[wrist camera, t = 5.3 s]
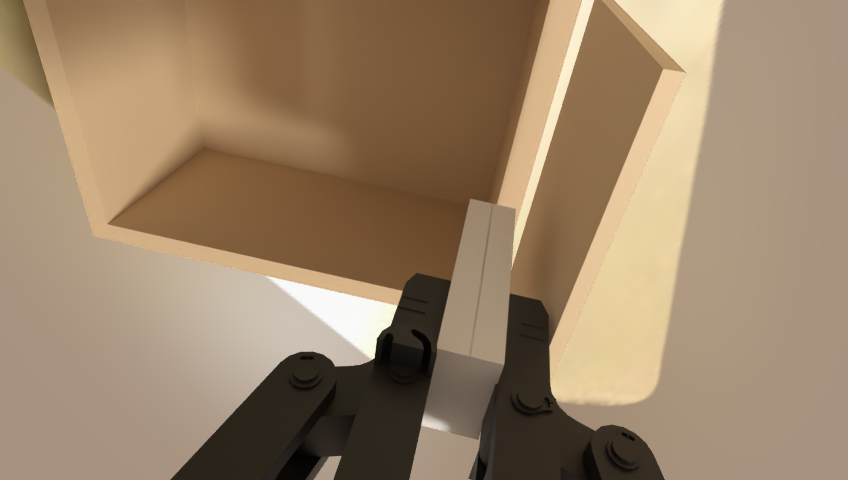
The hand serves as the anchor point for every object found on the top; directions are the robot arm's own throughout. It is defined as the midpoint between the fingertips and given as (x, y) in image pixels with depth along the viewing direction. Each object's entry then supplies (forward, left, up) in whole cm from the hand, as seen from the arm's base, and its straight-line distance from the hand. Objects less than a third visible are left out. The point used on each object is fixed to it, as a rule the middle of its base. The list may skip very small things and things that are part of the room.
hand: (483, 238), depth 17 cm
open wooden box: (-9, 0, -15) cm, 17 cm away
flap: (+2, 0, +1) cm, 2 cm away
